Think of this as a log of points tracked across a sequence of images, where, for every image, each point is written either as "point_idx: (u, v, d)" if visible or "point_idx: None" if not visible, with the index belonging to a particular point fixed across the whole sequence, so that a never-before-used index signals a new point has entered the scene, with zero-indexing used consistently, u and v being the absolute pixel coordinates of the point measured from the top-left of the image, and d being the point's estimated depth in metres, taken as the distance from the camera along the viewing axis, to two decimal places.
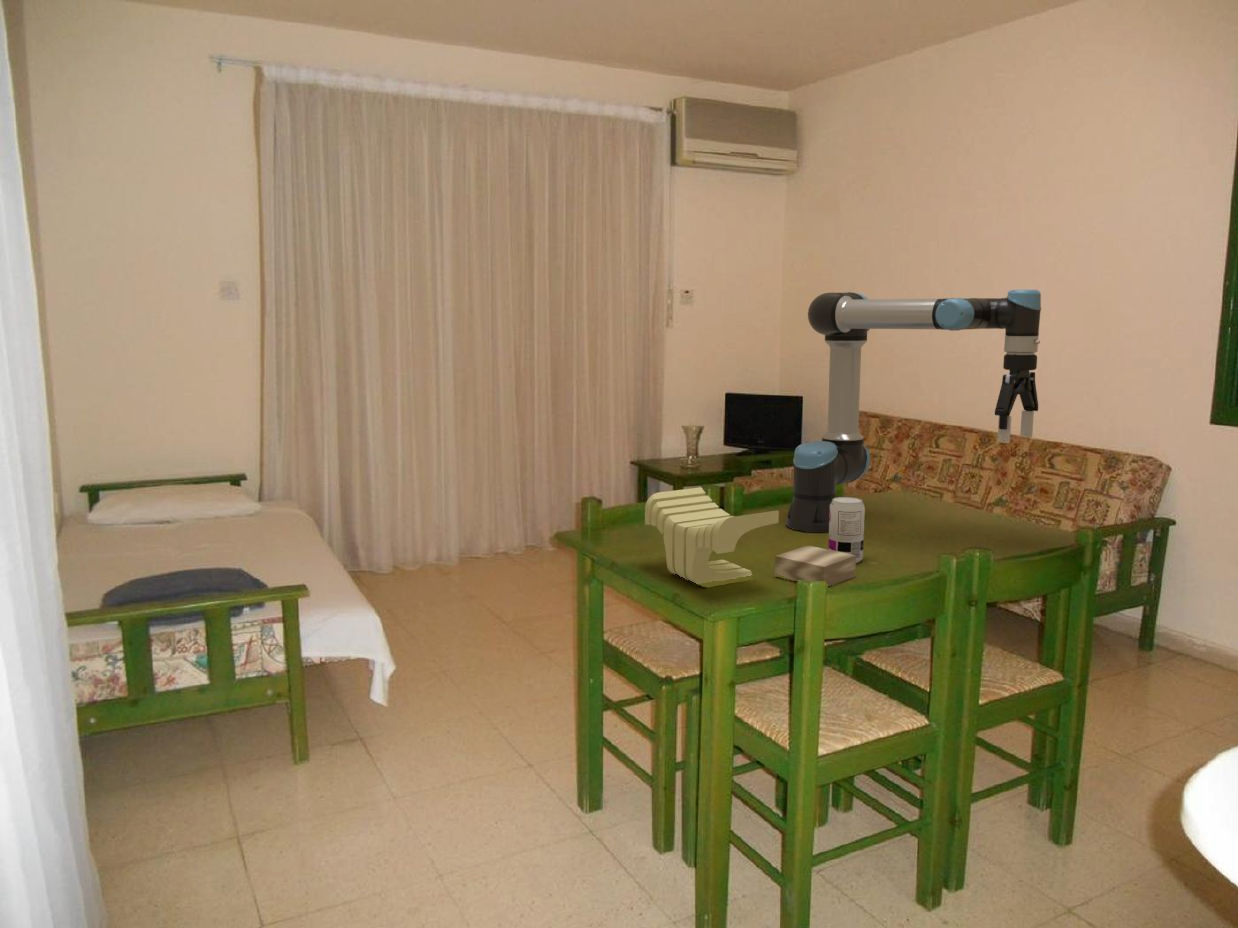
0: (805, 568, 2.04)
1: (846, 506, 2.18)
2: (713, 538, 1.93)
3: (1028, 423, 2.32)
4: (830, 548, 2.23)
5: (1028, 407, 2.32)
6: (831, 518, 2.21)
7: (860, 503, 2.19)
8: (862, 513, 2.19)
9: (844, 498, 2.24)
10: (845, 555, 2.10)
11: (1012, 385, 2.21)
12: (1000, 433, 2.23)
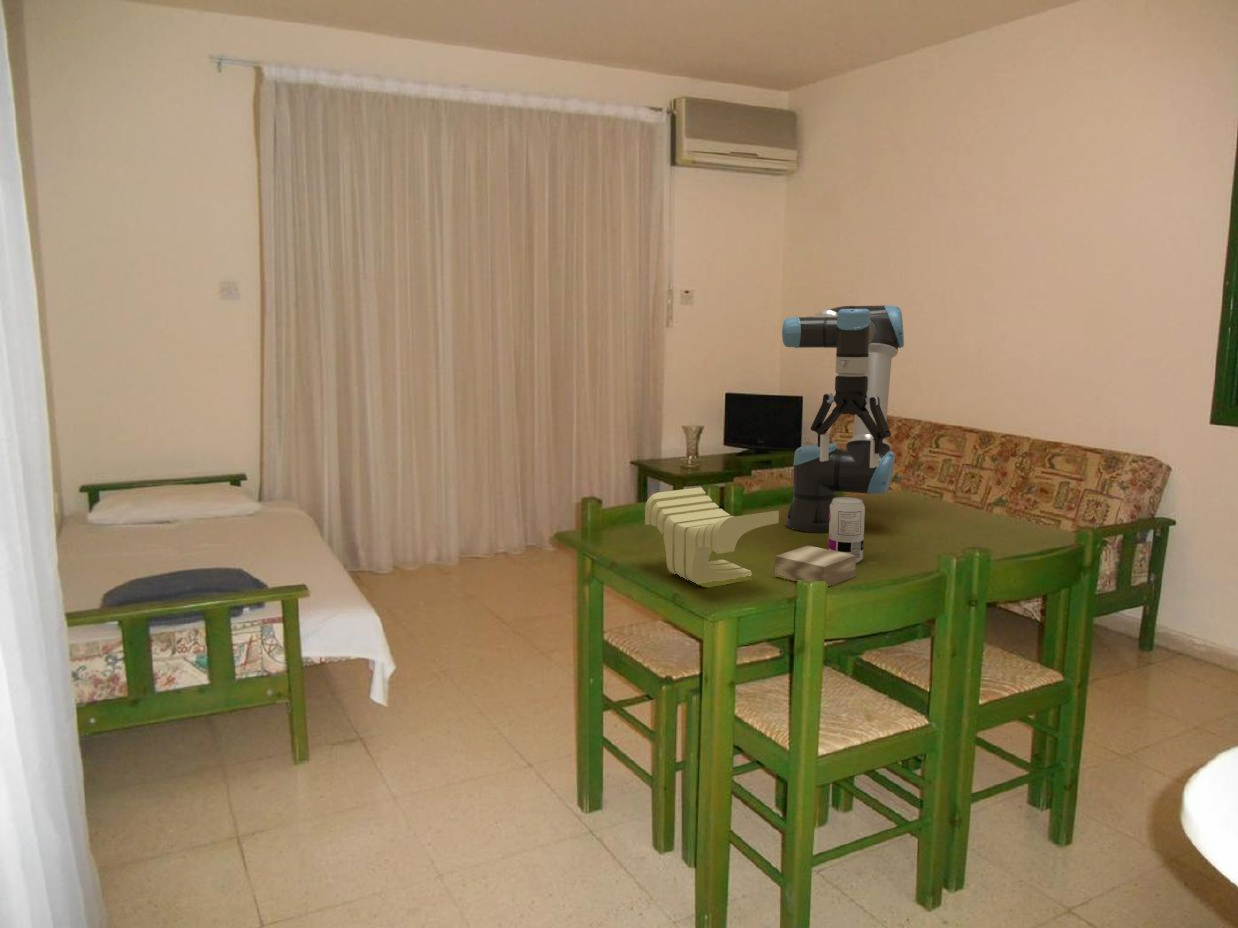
0: (805, 568, 2.04)
1: (846, 506, 2.18)
2: (713, 538, 1.93)
3: None
4: (830, 548, 2.23)
5: None
6: (831, 518, 2.21)
7: (860, 503, 2.19)
8: (862, 513, 2.19)
9: (844, 498, 2.24)
10: (845, 555, 2.10)
11: (824, 404, 2.21)
12: None
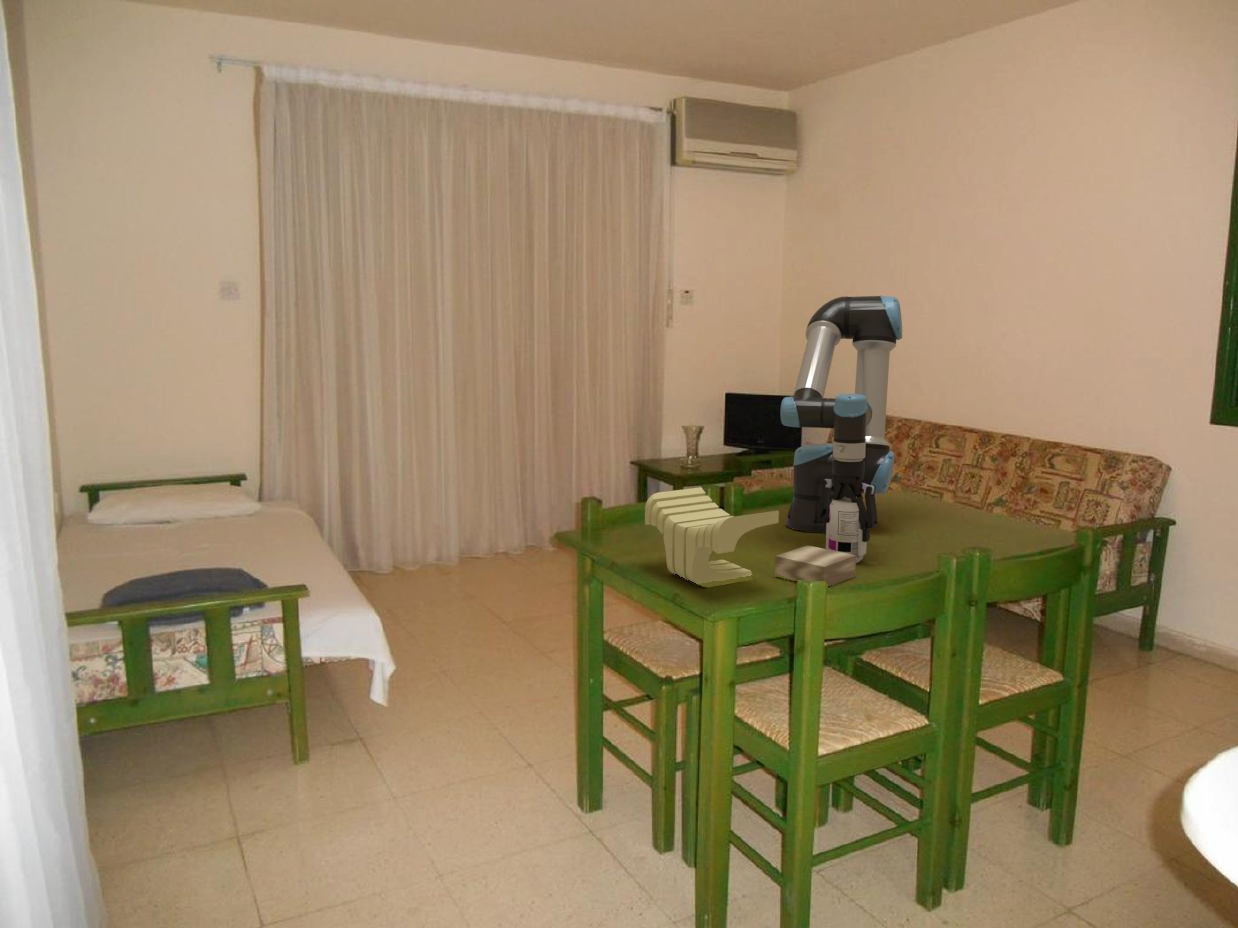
0: (805, 568, 2.04)
1: (846, 506, 2.18)
2: (713, 538, 1.93)
3: None
4: (830, 548, 2.23)
5: None
6: (831, 518, 2.21)
7: None
8: None
9: (844, 498, 2.24)
10: (845, 555, 2.10)
11: (823, 490, 2.25)
12: None
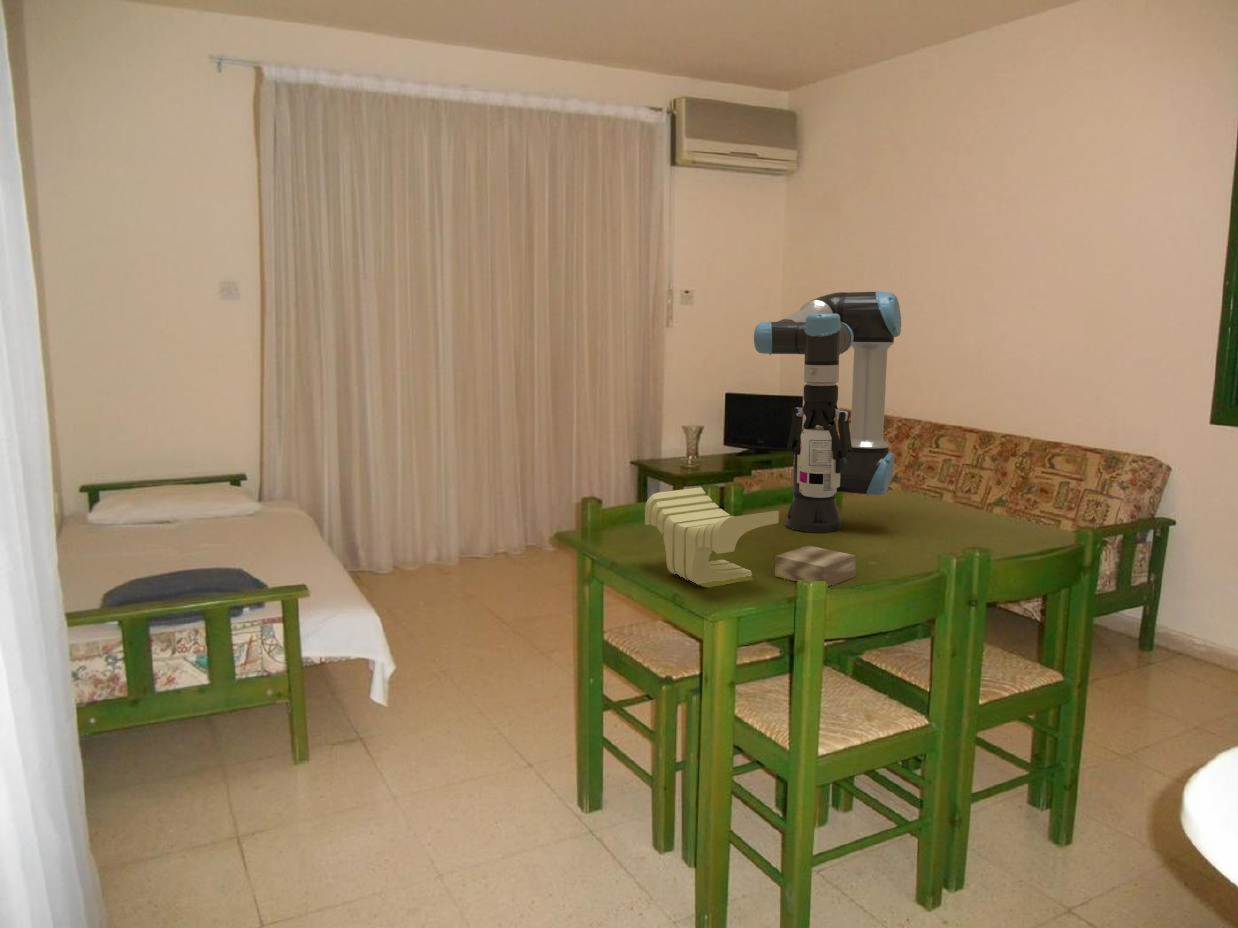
0: (805, 568, 2.04)
1: (818, 434, 2.02)
2: (713, 538, 1.93)
3: None
4: (801, 481, 2.06)
5: None
6: (802, 448, 2.05)
7: None
8: None
9: (816, 428, 2.08)
10: (845, 555, 2.10)
11: (794, 419, 2.08)
12: None
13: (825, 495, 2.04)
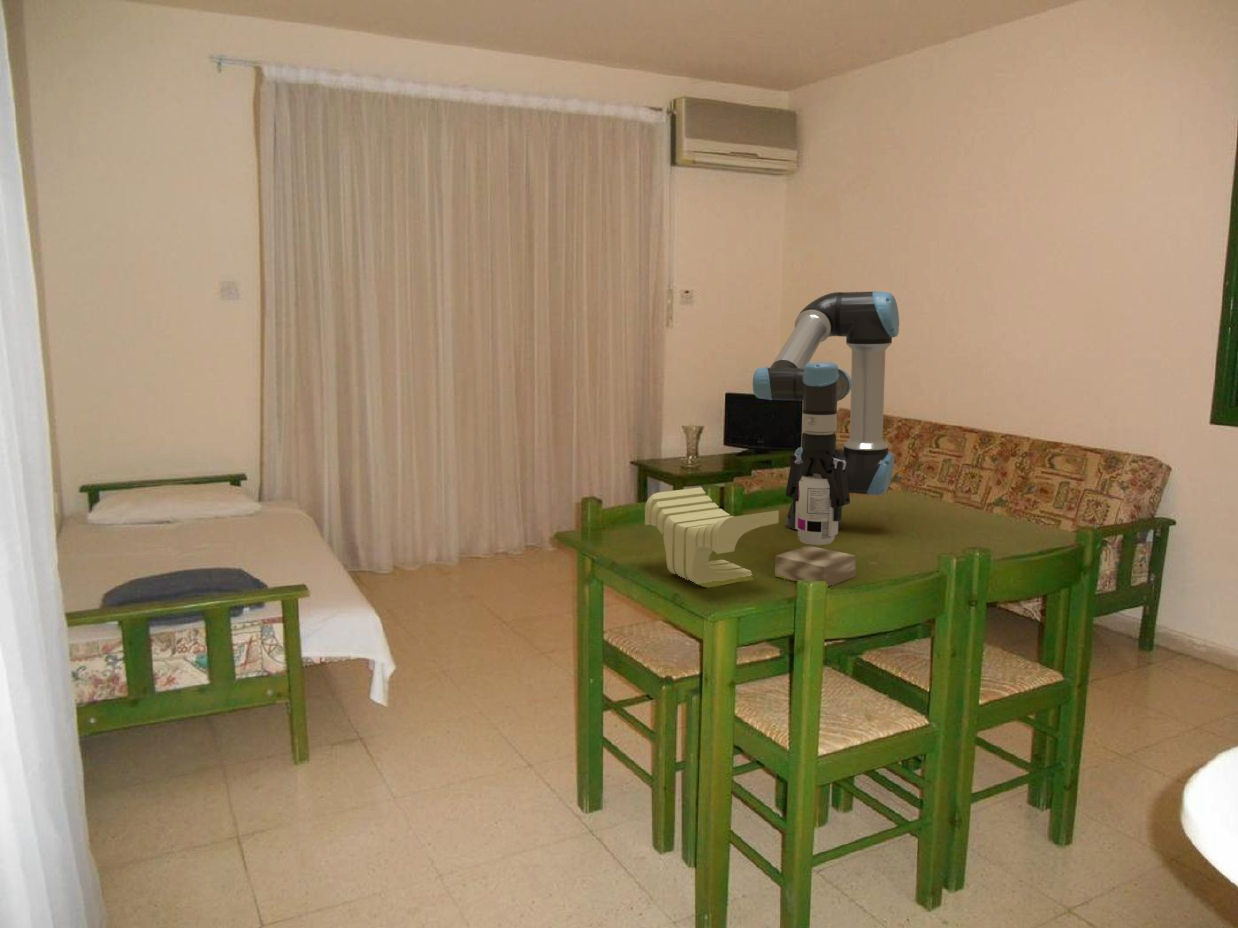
0: (805, 568, 2.04)
1: (816, 482, 2.03)
2: (713, 538, 1.93)
3: None
4: (799, 528, 2.08)
5: None
6: (800, 496, 2.06)
7: None
8: None
9: (814, 475, 2.09)
10: (845, 555, 2.10)
11: (792, 466, 2.10)
12: None
13: (823, 542, 2.05)
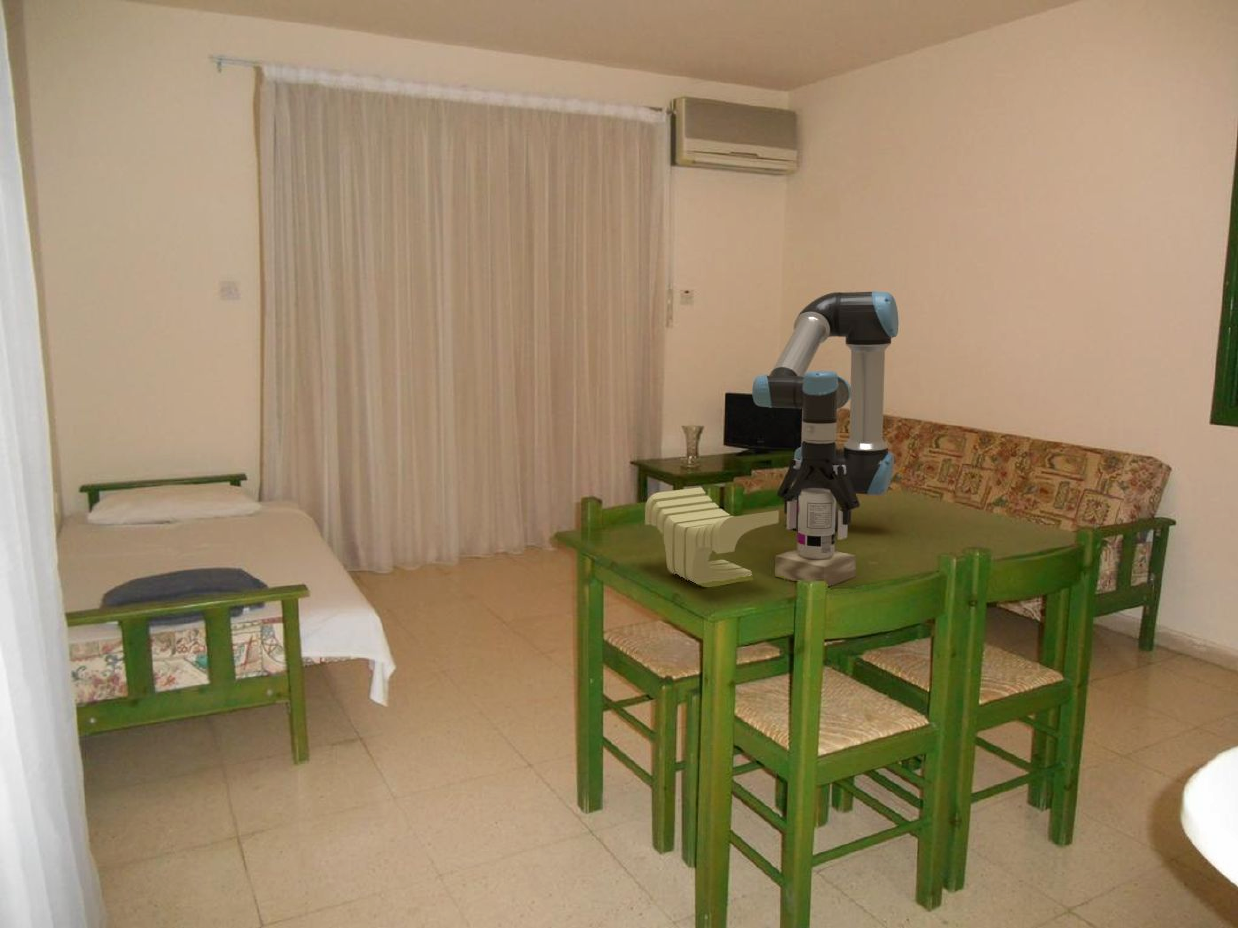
0: (805, 568, 2.04)
1: (816, 497, 2.04)
2: (713, 538, 1.93)
3: None
4: (799, 542, 2.09)
5: None
6: (800, 510, 2.07)
7: (831, 494, 2.05)
8: (833, 505, 2.05)
9: (814, 489, 2.10)
10: (845, 555, 2.10)
11: (790, 470, 2.10)
12: None
13: (823, 557, 2.06)
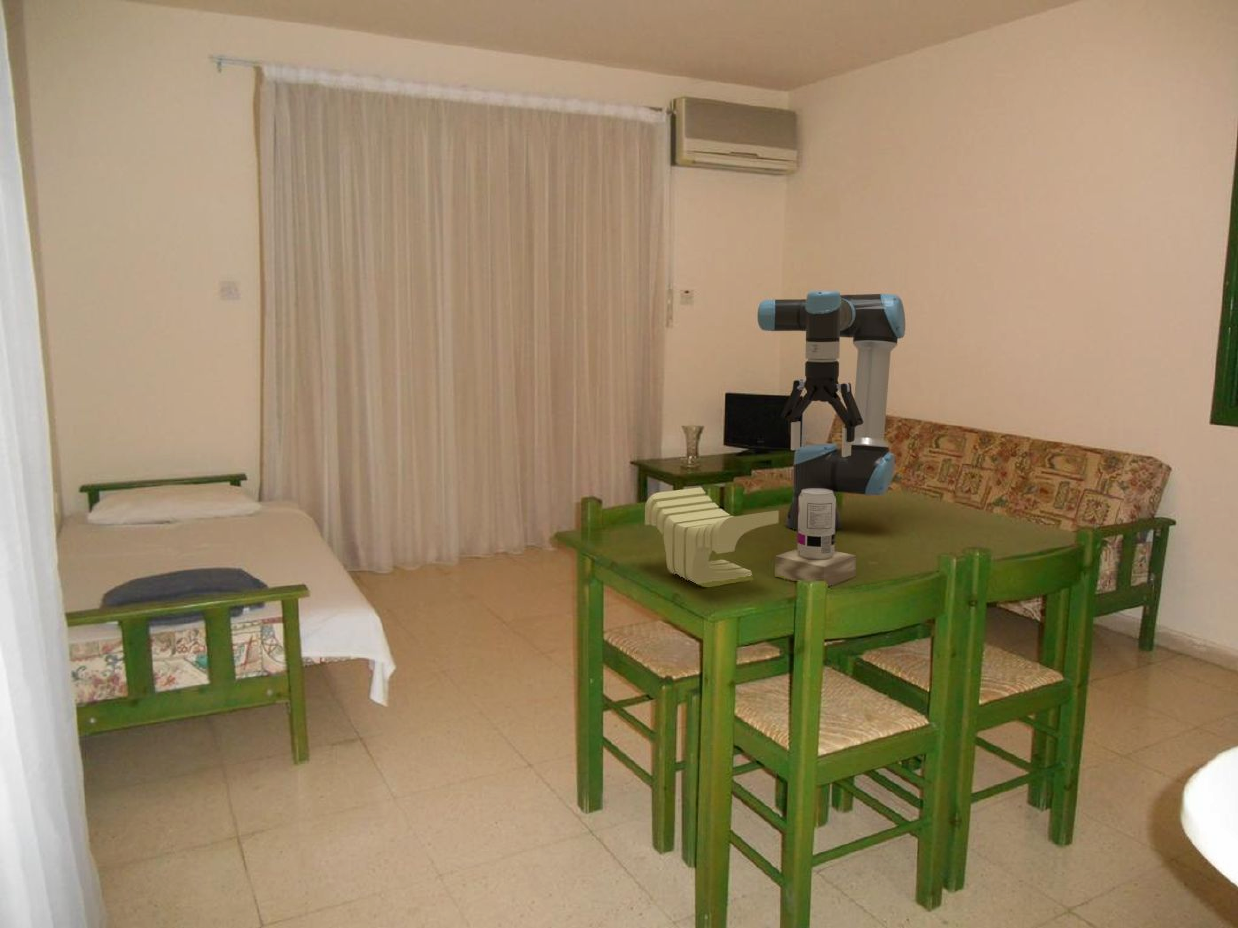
0: (805, 568, 2.04)
1: (816, 497, 2.04)
2: (713, 538, 1.93)
3: None
4: (799, 543, 2.09)
5: None
6: (800, 510, 2.07)
7: (831, 494, 2.05)
8: (833, 505, 2.05)
9: (814, 489, 2.10)
10: (845, 555, 2.10)
11: (794, 391, 2.13)
12: None
13: (823, 557, 2.06)
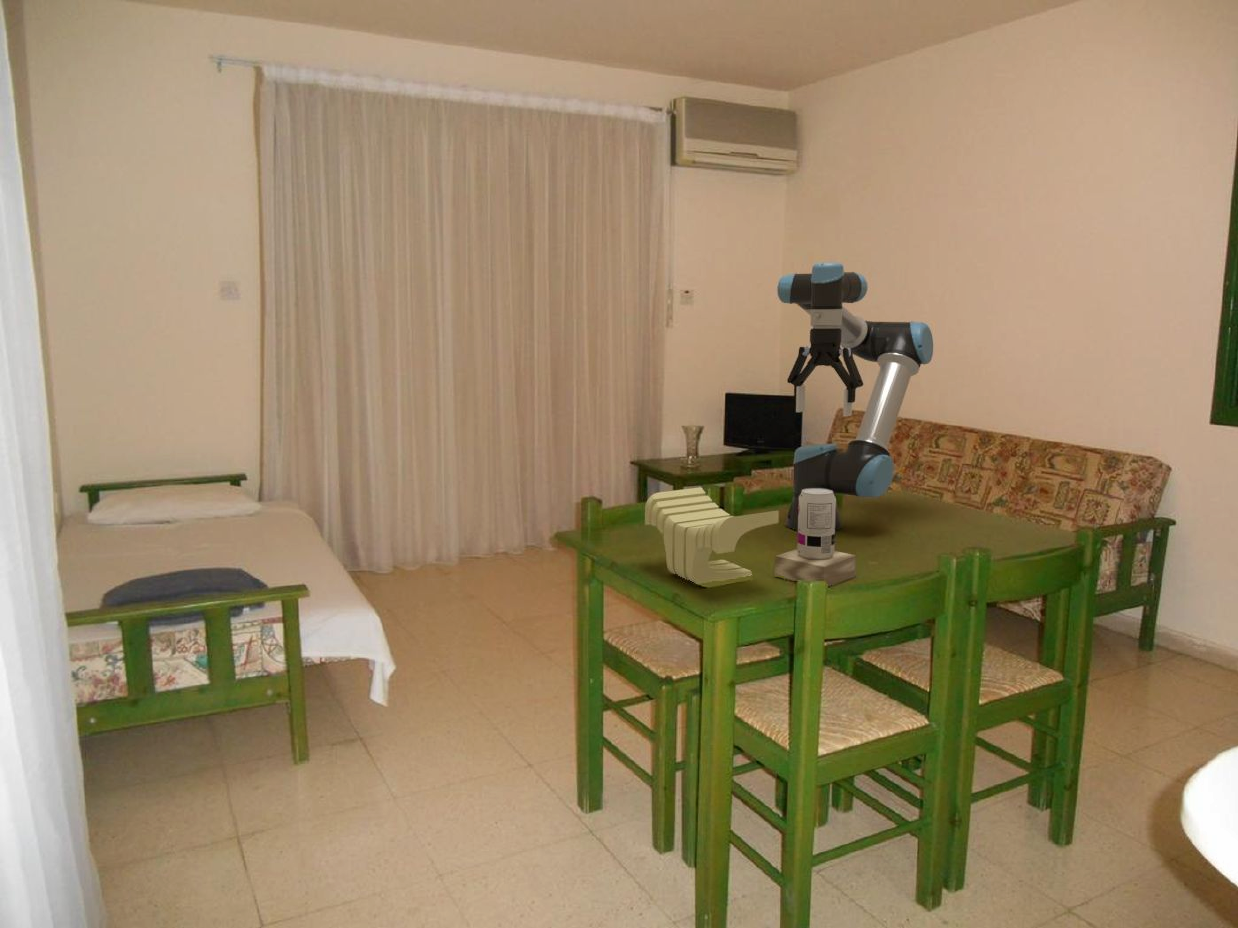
0: (805, 568, 2.04)
1: (816, 497, 2.04)
2: (713, 538, 1.93)
3: None
4: (799, 543, 2.09)
5: None
6: (800, 510, 2.07)
7: (831, 494, 2.05)
8: (833, 505, 2.05)
9: (814, 489, 2.10)
10: (845, 555, 2.10)
11: (799, 357, 2.29)
12: None
13: (823, 557, 2.06)
